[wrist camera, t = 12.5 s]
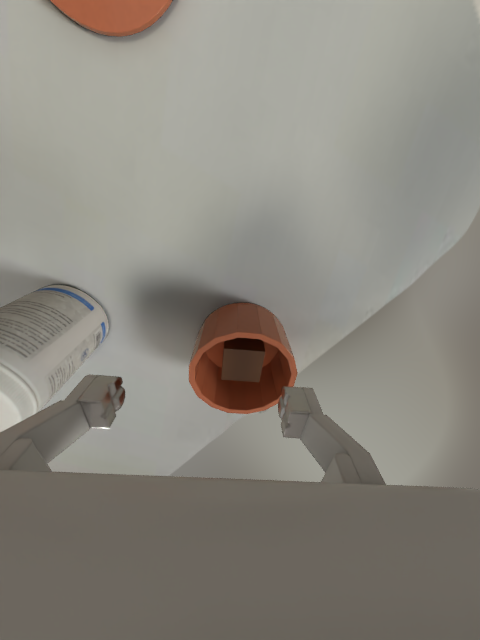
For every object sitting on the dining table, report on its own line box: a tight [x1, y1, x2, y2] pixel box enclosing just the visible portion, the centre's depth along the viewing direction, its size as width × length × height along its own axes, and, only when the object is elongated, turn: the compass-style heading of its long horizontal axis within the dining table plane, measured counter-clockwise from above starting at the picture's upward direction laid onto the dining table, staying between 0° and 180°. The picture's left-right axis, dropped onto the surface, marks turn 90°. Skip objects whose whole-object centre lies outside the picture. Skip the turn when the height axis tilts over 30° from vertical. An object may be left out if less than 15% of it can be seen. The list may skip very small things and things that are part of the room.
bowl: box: [189, 303, 297, 414], centre depth 28 cm, size 12×12×8 cm
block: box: [221, 338, 265, 382], centre depth 29 cm, size 5×5×5 cm
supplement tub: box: [0, 285, 109, 432], centre depth 23 cm, size 10×10×15 cm
